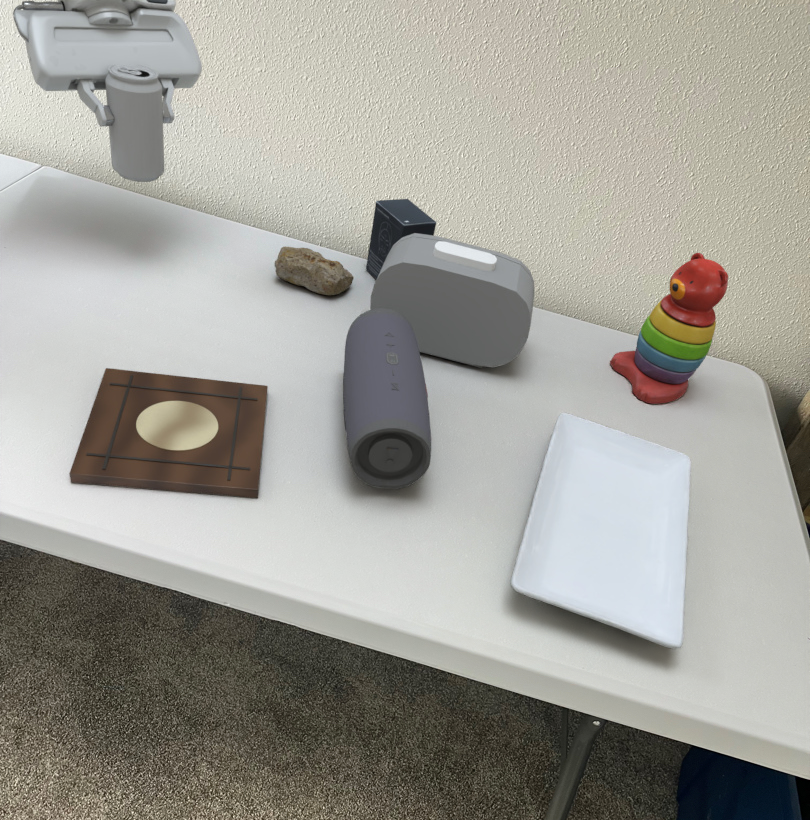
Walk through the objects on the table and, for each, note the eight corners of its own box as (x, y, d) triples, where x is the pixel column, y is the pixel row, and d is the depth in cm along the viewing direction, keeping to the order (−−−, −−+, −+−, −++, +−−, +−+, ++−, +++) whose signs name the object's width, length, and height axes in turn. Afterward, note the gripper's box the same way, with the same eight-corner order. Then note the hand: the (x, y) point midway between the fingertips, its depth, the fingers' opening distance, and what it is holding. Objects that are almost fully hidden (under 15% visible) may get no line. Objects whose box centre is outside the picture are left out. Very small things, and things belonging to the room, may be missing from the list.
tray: (681, 474, 96) (694, 453, 93) (669, 670, 73) (685, 648, 71) (550, 430, 97) (559, 408, 95) (498, 609, 75) (508, 585, 72)
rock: (338, 305, 109) (342, 276, 106) (264, 281, 110) (266, 252, 107) (355, 282, 114) (360, 254, 111) (284, 259, 115) (287, 231, 112)
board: (70, 482, 76) (68, 472, 75) (106, 376, 89) (105, 366, 88) (257, 498, 79) (258, 489, 78) (267, 394, 92) (267, 384, 91)
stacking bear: (604, 359, 112) (654, 240, 99) (662, 358, 115) (718, 242, 103) (641, 405, 105) (700, 283, 93) (702, 402, 108) (767, 284, 96)
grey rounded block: (518, 344, 110) (547, 254, 101) (513, 380, 104) (544, 287, 94) (377, 308, 110) (393, 215, 101) (363, 341, 104) (379, 245, 94)
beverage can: (161, 188, 99) (157, 83, 90) (107, 179, 98) (99, 73, 89) (167, 168, 103) (165, 67, 95) (116, 160, 102) (109, 57, 94)
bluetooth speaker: (425, 502, 84) (446, 428, 77) (339, 494, 82) (351, 418, 75) (410, 379, 99) (426, 309, 92) (337, 371, 98) (347, 298, 91)
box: (423, 291, 116) (437, 221, 109) (390, 295, 114) (403, 224, 106) (396, 265, 120) (408, 196, 113) (364, 269, 118) (375, 199, 110)
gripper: (11, -17, 85) (57, 113, 87) (185, -9, 96) (222, 107, 98) (3, 17, 90) (47, 139, 93) (169, 21, 101) (204, 130, 104)
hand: (138, 122), depth 96 cm, fingers closed on beverage can, 6 cm apart
